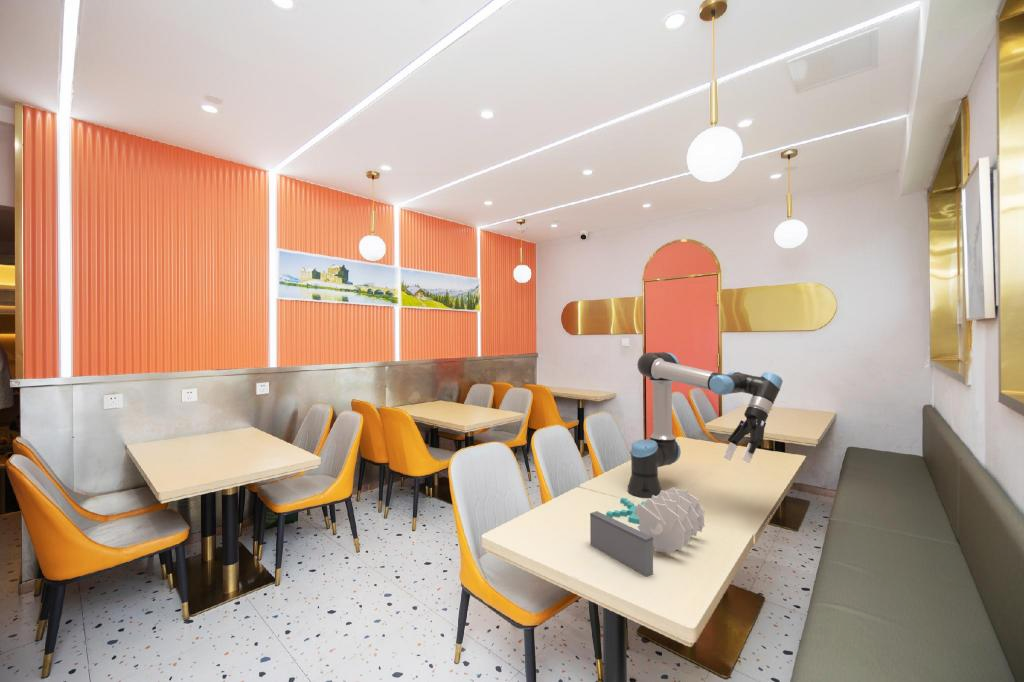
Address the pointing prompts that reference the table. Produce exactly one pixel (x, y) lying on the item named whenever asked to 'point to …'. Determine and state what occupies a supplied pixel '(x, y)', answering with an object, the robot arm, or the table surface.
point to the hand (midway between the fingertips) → (735, 459)
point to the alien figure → (626, 511)
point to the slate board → (622, 542)
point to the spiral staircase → (670, 519)
